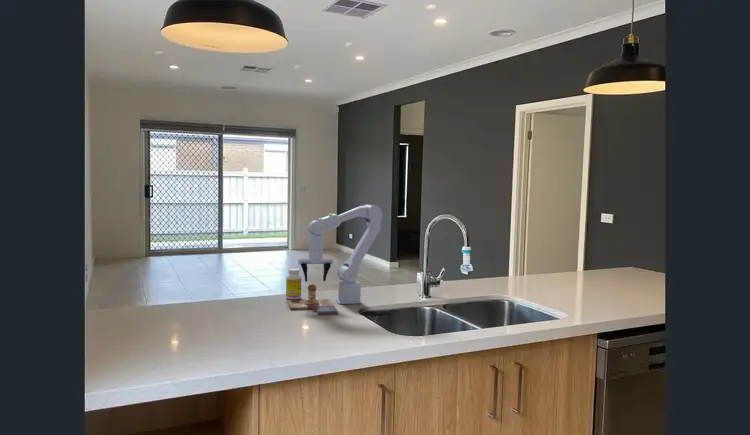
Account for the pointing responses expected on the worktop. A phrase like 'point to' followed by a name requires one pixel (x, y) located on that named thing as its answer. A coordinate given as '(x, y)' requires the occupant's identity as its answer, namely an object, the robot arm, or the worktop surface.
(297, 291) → the supplement bottle
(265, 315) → the worktop surface
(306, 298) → the stamp
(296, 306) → the board
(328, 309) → the ink pad
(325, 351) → the worktop surface
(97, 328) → the worktop surface
